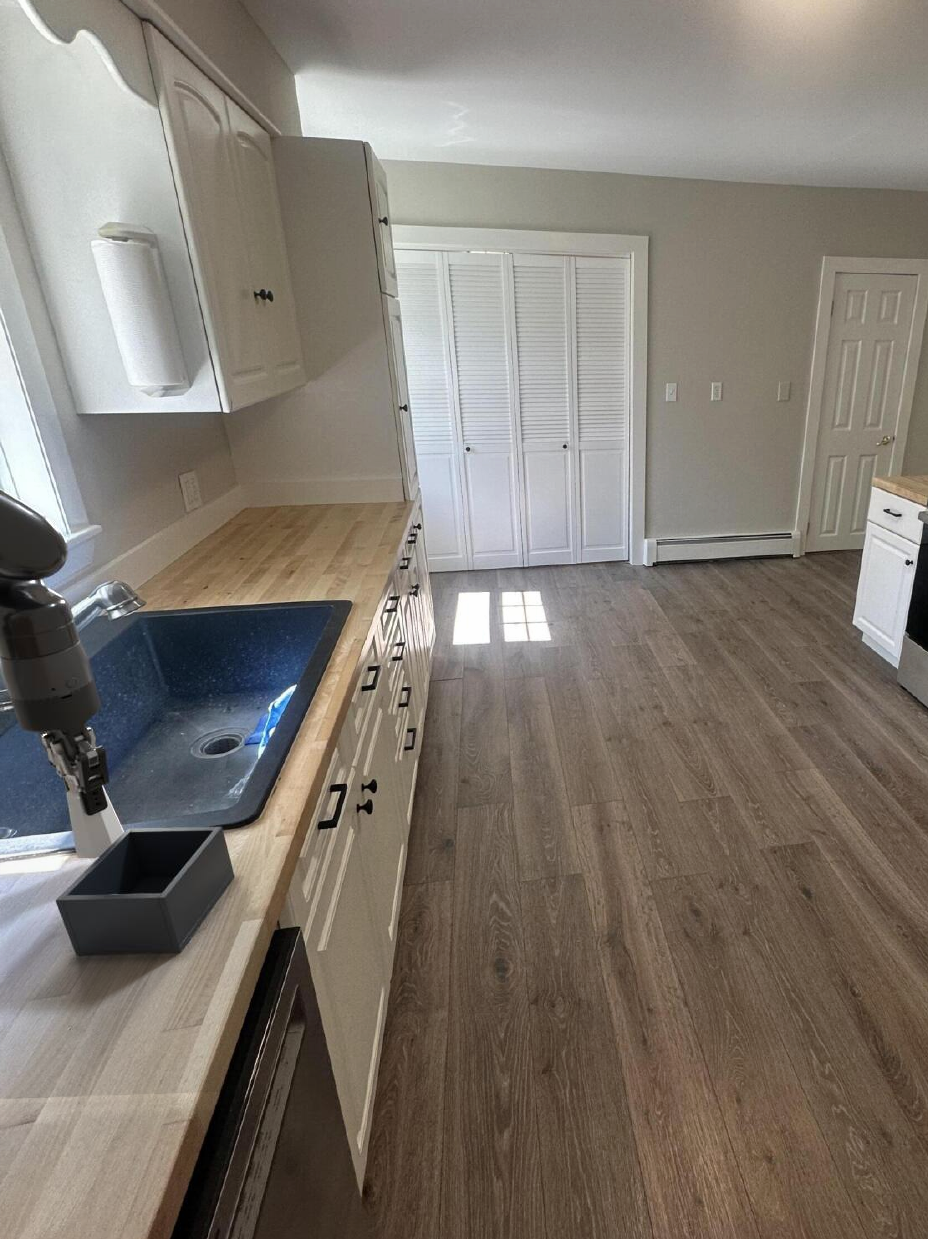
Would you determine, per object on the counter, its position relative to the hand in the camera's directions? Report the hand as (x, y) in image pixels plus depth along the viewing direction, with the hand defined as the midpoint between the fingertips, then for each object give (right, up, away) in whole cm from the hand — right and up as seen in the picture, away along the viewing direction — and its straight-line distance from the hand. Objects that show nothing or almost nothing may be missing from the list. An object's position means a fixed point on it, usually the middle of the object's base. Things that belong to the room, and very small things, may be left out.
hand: (89, 804), depth 82 cm
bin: (+12, -12, -4) cm, 17 cm away
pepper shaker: (0, -6, +2) cm, 6 cm away
